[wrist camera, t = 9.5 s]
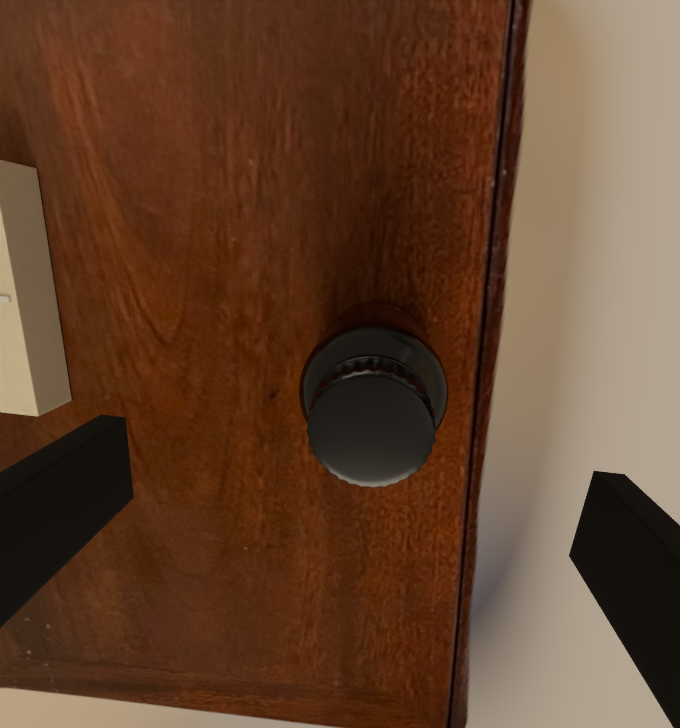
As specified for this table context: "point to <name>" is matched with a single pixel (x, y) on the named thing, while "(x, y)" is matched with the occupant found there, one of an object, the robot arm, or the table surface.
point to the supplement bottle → (373, 395)
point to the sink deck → (28, 301)
